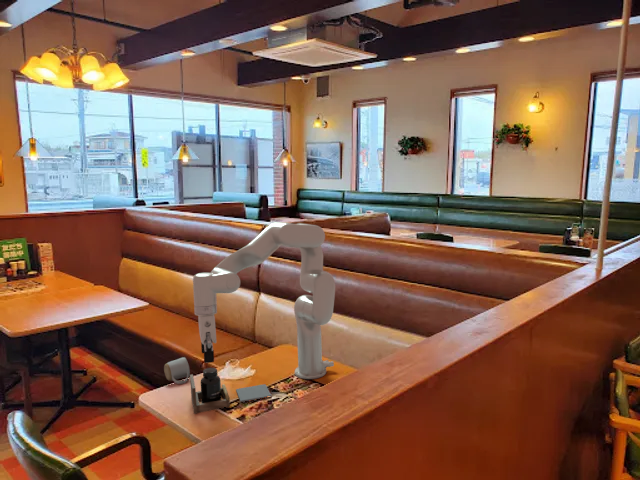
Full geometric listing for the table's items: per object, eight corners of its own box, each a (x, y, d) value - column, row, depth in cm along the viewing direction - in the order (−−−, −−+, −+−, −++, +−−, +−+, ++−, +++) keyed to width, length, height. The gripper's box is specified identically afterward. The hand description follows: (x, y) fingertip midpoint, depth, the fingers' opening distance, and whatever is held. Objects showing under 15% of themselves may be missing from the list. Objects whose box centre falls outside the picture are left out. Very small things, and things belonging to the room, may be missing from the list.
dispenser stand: (225, 392, 173) (224, 369, 172) (230, 407, 162) (228, 382, 161) (191, 398, 169) (189, 374, 168) (193, 414, 158) (192, 388, 157)
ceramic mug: (163, 378, 188) (162, 359, 187) (183, 372, 193) (182, 354, 192) (173, 387, 180) (172, 368, 179) (193, 381, 185) (192, 362, 184)
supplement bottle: (216, 408, 162) (214, 374, 160) (198, 406, 163) (196, 373, 162) (224, 399, 169) (222, 366, 167) (206, 397, 170) (204, 365, 168)
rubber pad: (265, 386, 178) (265, 384, 178) (271, 397, 169) (271, 395, 169) (236, 391, 175) (236, 389, 174) (240, 402, 165) (240, 400, 165)
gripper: (220, 314, 155) (221, 364, 157) (214, 302, 171) (215, 348, 173) (196, 316, 152) (198, 367, 154) (192, 304, 168) (194, 350, 170)
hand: (207, 357), depth 163 cm, fingers open, 9 cm apart
